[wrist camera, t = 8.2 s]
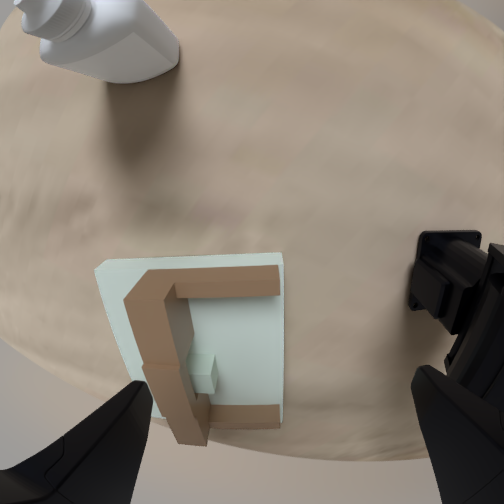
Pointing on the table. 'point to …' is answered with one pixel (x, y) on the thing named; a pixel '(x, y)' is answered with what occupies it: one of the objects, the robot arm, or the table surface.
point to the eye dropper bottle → (102, 37)
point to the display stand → (210, 331)
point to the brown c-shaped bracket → (179, 341)
